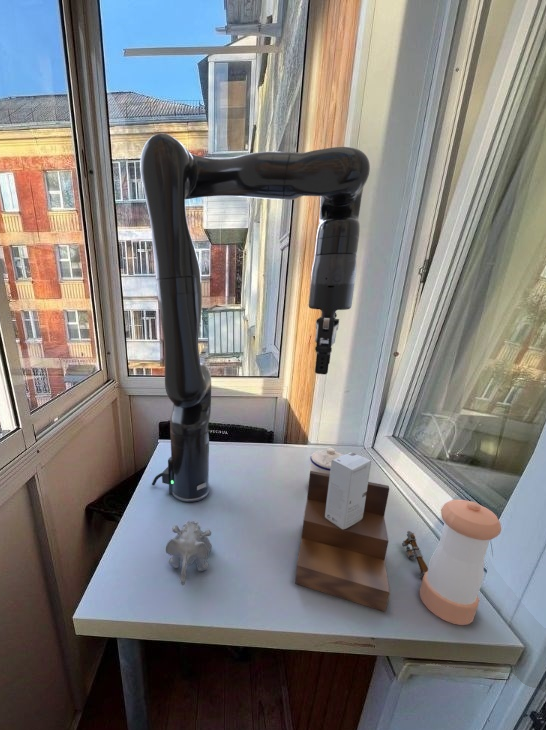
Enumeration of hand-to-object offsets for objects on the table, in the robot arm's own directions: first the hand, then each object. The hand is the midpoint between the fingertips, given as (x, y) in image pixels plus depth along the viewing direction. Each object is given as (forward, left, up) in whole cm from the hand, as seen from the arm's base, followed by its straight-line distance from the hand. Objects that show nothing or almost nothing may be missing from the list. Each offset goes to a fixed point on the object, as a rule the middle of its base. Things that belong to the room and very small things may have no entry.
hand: (322, 368), depth 65 cm
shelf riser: (+7, -13, -34) cm, 37 cm away
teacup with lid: (+5, +12, -34) cm, 37 cm away
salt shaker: (+23, -14, -34) cm, 44 cm away
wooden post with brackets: (+20, -7, -34) cm, 40 cm away
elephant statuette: (-18, -24, -34) cm, 46 cm away
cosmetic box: (+7, -9, -26) cm, 29 cm away
